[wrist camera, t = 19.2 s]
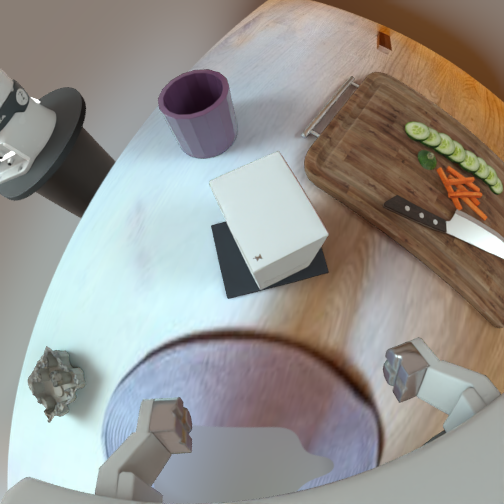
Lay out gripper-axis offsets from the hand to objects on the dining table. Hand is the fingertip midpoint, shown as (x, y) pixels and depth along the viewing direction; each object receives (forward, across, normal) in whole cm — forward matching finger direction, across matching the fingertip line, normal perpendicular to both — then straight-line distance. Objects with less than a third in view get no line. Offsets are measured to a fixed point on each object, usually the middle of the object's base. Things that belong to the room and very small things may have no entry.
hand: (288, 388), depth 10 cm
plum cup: (+35, +2, -10) cm, 37 cm away
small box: (+24, -3, +5) cm, 24 cm away
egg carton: (+18, +31, +17) cm, 40 cm away
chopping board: (+24, -32, +1) cm, 40 cm away
